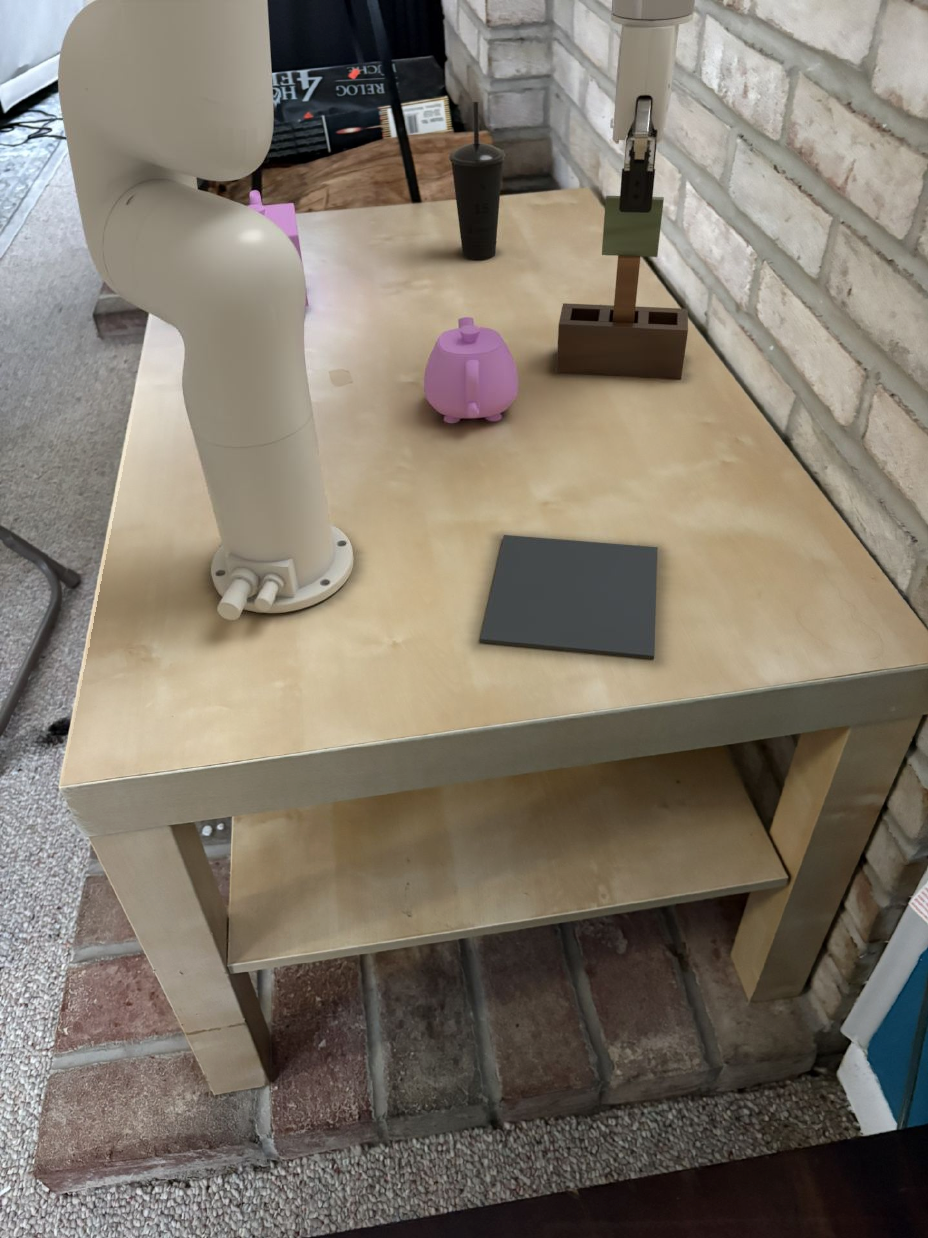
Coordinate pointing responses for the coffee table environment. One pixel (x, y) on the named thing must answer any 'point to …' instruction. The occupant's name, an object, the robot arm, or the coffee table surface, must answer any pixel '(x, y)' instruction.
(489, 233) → the drinking cup
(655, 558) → the mat
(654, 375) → the rack
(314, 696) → the coffee table surface
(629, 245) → the spatula
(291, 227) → the teapot
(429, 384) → the teapot
